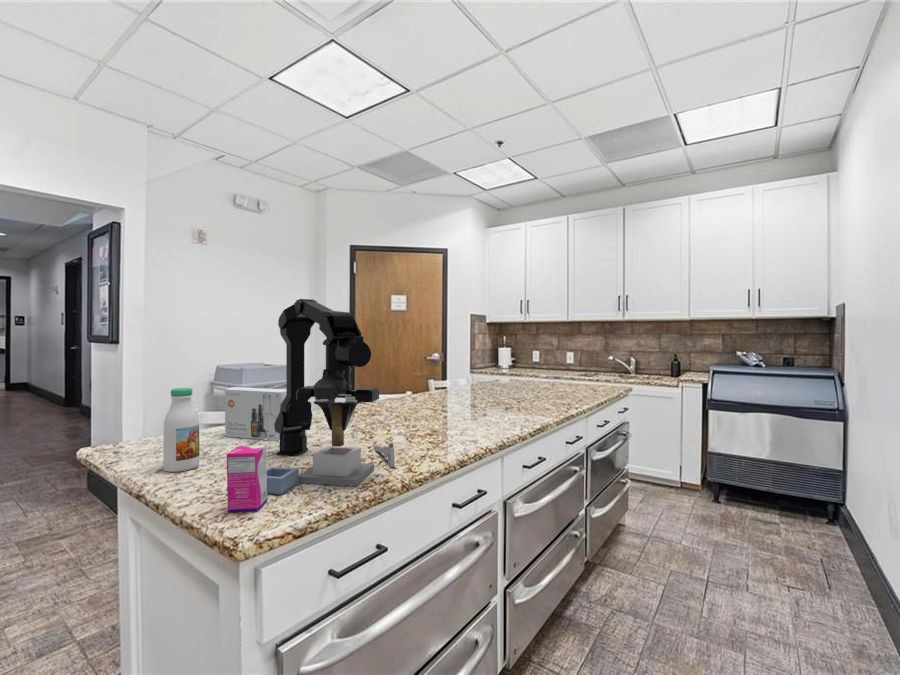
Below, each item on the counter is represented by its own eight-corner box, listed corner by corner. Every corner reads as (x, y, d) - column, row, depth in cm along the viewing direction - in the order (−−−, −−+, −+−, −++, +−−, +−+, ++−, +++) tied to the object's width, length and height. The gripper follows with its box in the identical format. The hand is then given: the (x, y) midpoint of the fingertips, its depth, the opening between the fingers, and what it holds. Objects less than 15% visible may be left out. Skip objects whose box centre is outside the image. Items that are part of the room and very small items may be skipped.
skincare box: (223, 437, 141) (223, 388, 141) (235, 433, 146) (235, 386, 146) (281, 441, 136) (281, 391, 136) (291, 437, 141) (291, 388, 141)
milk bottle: (161, 474, 104) (161, 391, 104) (165, 465, 111) (165, 387, 111) (198, 470, 108) (198, 389, 108) (200, 461, 115) (200, 386, 114)
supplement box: (238, 501, 89) (238, 445, 88) (268, 500, 89) (268, 444, 89) (225, 513, 83) (225, 452, 83) (258, 512, 83) (258, 452, 83)
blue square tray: (251, 493, 93) (251, 476, 93) (270, 481, 100) (270, 466, 100) (281, 495, 92) (281, 478, 92) (298, 483, 99) (298, 468, 99)
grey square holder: (297, 482, 99) (297, 456, 99) (321, 466, 111) (321, 443, 111) (356, 486, 97) (356, 460, 97) (374, 469, 109) (374, 446, 109)
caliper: (394, 468, 111) (394, 444, 111) (390, 469, 110) (390, 444, 110) (376, 448, 130) (376, 427, 130) (372, 449, 129) (373, 428, 129)
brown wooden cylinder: (329, 446, 103) (329, 403, 102) (334, 443, 105) (334, 401, 105) (341, 446, 102) (341, 404, 102) (345, 443, 105) (345, 402, 105)
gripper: (283, 366, 97) (283, 436, 97) (363, 367, 94) (363, 439, 94) (307, 363, 108) (307, 425, 108) (379, 364, 105) (379, 428, 105)
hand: (338, 430), depth 104 cm, fingers closed on brown wooden cylinder, 3 cm apart
